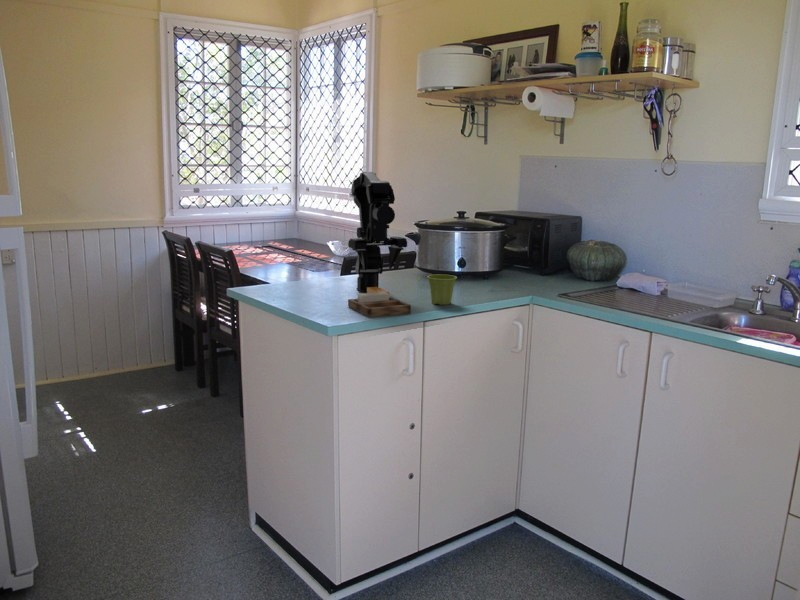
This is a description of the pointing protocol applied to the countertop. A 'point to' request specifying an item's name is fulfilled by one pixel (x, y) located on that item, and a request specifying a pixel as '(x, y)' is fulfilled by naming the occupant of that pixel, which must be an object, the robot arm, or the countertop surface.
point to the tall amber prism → (375, 290)
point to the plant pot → (441, 288)
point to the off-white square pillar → (373, 297)
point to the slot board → (380, 307)
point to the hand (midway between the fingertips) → (377, 269)
